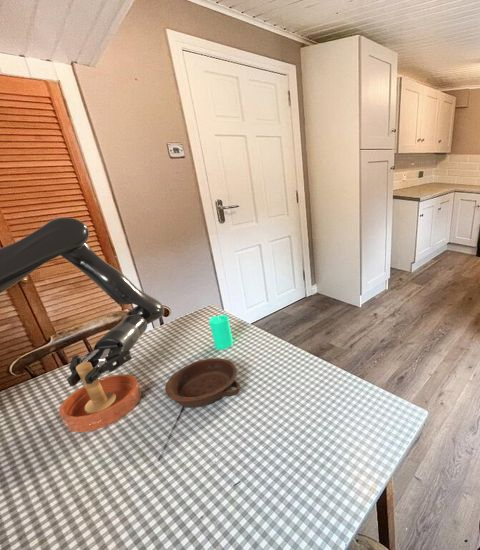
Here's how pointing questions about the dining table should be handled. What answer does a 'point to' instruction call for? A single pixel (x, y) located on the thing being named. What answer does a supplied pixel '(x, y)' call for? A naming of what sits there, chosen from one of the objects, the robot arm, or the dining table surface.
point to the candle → (221, 331)
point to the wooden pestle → (95, 392)
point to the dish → (203, 382)
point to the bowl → (81, 422)
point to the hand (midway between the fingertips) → (79, 381)
